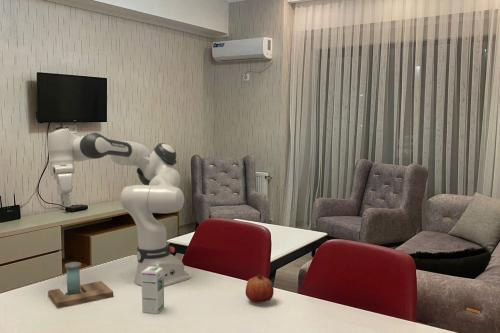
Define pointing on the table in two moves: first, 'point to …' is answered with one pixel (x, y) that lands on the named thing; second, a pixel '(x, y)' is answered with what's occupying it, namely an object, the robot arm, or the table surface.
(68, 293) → the bobbin
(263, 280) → the fruit
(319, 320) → the table surface
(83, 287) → the notched board
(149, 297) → the syrup box
